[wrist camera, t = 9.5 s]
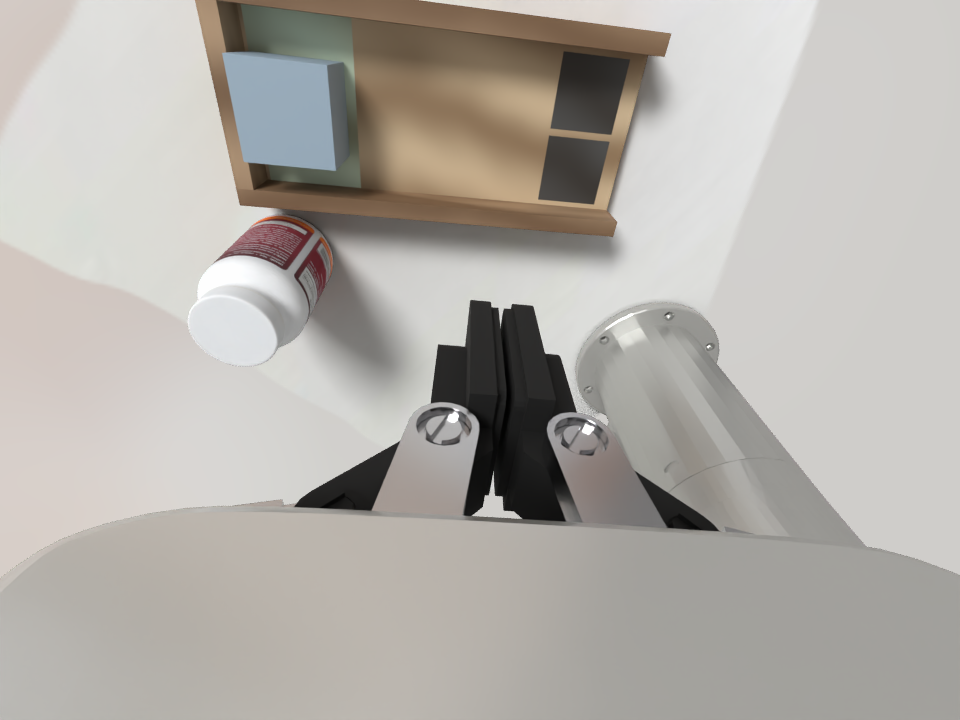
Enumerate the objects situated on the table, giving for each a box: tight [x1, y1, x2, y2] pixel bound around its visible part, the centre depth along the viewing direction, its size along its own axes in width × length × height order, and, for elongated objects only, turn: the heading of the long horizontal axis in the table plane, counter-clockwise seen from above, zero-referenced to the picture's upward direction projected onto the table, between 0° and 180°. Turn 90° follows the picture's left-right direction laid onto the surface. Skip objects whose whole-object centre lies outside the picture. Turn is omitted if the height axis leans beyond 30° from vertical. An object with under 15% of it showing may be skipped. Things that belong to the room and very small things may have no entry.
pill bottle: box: [188, 214, 333, 367], centre depth 28 cm, size 6×6×11 cm
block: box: [222, 51, 350, 171], centre depth 25 cm, size 5×5×4 cm
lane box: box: [195, 0, 671, 237], centre depth 26 cm, size 11×24×4 cm, turn 84°
